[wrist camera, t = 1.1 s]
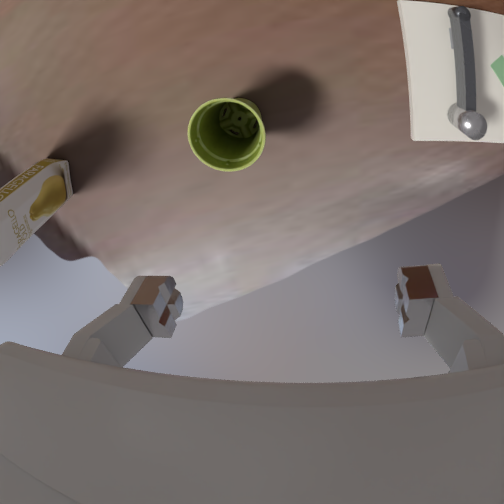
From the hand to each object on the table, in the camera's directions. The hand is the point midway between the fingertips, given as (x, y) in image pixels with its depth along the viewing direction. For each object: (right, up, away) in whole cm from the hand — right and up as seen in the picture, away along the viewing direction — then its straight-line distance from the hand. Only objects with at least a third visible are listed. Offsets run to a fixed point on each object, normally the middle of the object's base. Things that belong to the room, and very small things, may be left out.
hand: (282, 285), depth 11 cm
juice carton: (-38, +16, +42) cm, 59 cm away
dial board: (+28, +26, +20) cm, 43 cm away
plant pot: (-3, +20, +32) cm, 38 cm away
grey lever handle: (+26, +25, +19) cm, 41 cm away
